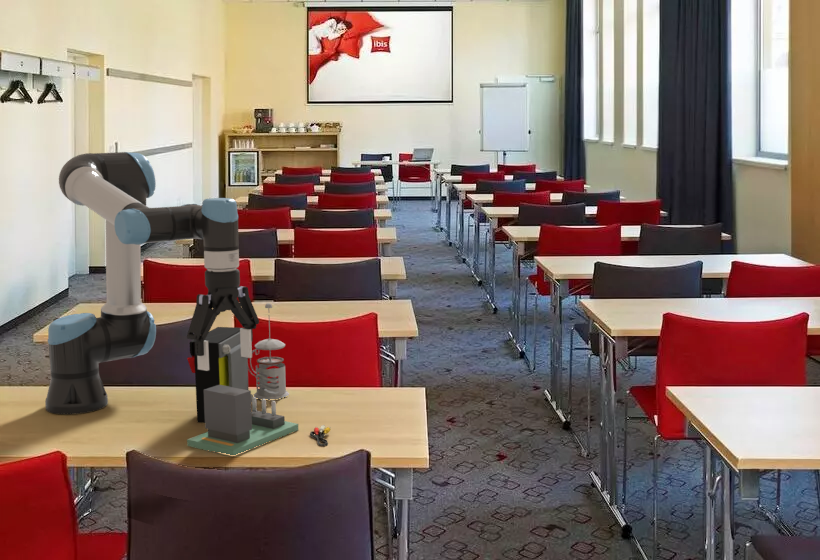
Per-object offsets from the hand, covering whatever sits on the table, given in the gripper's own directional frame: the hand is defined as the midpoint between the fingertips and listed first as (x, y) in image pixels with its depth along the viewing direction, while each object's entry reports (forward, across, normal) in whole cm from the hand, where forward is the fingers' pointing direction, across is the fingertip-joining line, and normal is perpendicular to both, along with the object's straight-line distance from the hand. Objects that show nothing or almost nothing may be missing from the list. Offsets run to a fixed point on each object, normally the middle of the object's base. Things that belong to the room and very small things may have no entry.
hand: (225, 363), depth 212 cm
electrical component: (+19, +17, +18) cm, 31 cm away
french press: (+19, +35, +19) cm, 44 cm away
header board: (+19, +5, 0) cm, 19 cm away
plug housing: (+15, 0, 0) cm, 15 cm away
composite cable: (+19, +13, -16) cm, 28 cm away
